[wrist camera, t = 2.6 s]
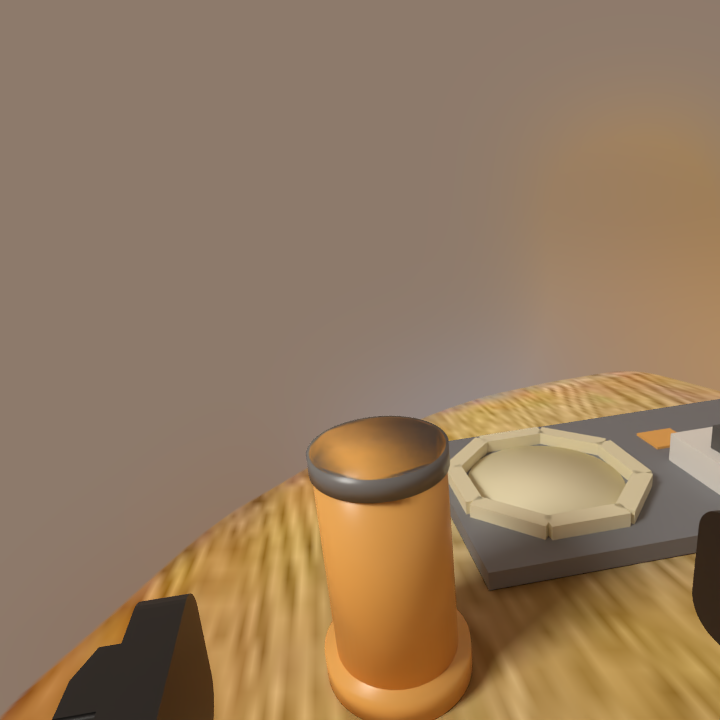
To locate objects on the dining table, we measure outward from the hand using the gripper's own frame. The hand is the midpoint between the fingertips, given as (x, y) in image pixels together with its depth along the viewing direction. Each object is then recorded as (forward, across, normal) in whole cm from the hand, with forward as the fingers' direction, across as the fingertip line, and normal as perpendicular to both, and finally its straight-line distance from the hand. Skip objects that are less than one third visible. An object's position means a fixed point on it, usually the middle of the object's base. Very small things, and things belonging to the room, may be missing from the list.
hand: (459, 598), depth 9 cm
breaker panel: (+22, -18, +12) cm, 30 cm away
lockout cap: (+12, 0, +13) cm, 17 cm away
